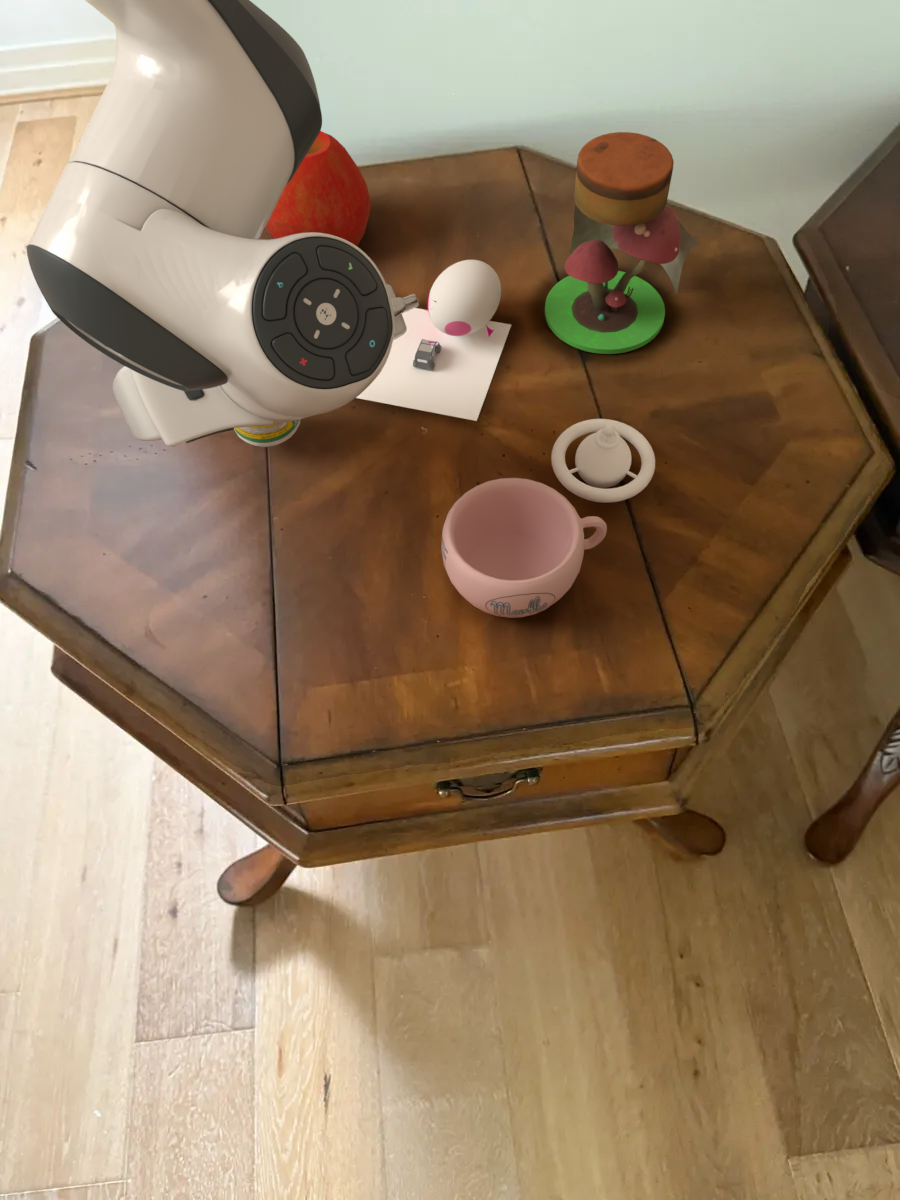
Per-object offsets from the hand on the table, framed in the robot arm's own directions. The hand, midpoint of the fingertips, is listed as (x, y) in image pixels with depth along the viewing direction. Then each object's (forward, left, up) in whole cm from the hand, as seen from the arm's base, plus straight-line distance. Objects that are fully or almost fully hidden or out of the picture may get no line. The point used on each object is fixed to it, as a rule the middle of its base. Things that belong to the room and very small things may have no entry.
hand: (251, 369), depth 73 cm
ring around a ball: (+24, -13, -8) cm, 28 cm away
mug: (+15, -20, -8) cm, 26 cm away
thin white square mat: (+15, +4, -8) cm, 17 cm away
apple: (+10, +23, -8) cm, 27 cm away
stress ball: (+19, +7, -7) cm, 21 cm away
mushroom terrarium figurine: (+32, +4, -8) cm, 33 cm away
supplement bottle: (0, -1, -6) cm, 6 cm away
